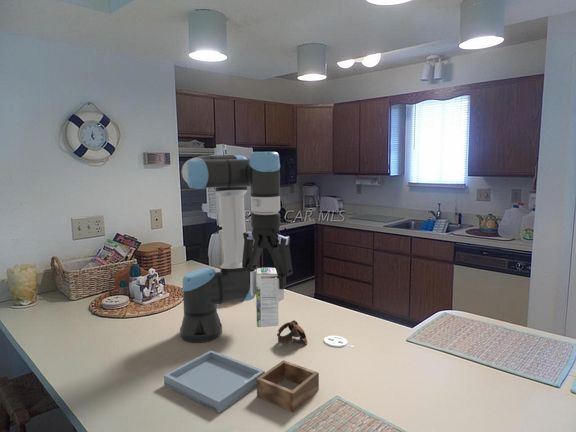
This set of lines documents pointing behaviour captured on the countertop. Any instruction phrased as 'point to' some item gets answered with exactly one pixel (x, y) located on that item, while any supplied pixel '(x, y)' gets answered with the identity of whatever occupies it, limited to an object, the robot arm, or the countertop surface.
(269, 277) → the syrup box
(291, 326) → the brown curved piece
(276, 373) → the wooden cube shelf
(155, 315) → the countertop surface
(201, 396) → the grey tray
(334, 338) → the pendant
